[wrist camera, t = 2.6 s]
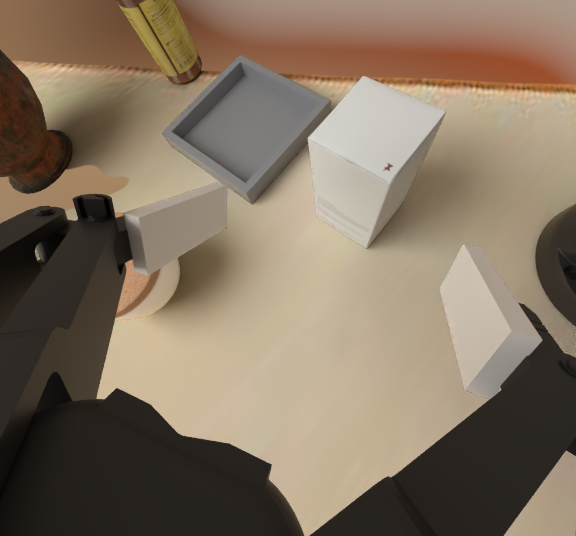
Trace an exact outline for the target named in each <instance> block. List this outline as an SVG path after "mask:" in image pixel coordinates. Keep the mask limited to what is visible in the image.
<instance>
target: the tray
mask: <svg viewBox="0 0 576 536" xmlns="http://www.w3.org/2000/svg"><path fill="white" fill-rule="evenodd" d="M330 113H331V100H329V99H327V98H325V97H323V96H321V95H319V94H317V93H315V92H313V91H311V90H309V89H307V88H305V87H303V86H301V85H299V84H297V83H295V82H293V81H291V80H289V79H287V78H285V77H283V76H281V75H279V74H277V73H275V72H273V71H271V70H269V69H267V68H266V67H263V66H262V65H259V64H258V63H256V62H253V61H252V60H249V59H247V58H246V57H244V56H242V55H239V56H238V57H237V58H236V59H235V60H234V61H233V62H232V63H231V64H230V65H229V66H228V67H227V68H226V69H225V70H224V71H223V72H222V73H221V74H220V75H219V76H218V77H217V78H216V79H215V80H214V81H213V82H212V83H211V84H210V85H209V86H208V87H207V88H206V89H205V90H204V91H203V92H202V93H201V94H200V95H199V96H198V97H197V98H196V99H195V100H194V101H193V102H192V103H191V104H190V105H189V106H188V107H187V108H186V109H185V110H184V111H183V112H182V113H181V114H180V115H179V116H178V117H177V118H176V119H175V120H174V121H173V122H172V123H171V124H170V125H169V126H168V127H167V128H166V129H165V130H164V131H163V132H162V135H163V136H164V137H165V139H166V140H167V141H168V142H169V144H170V145H171V146H172V147H173V148H174V149H176V150H177V151H179V152H180V153H181V154H183V155H184V156H186V157H187V158H188V159H190V160H191V161H193V162H194V163H195V164H197V165H198V166H199V167H201V168H202V169H204V170H205V171H206V172H208V173H209V174H211V175H212V176H213V177H215V178H216V179H217V180H219V181H220V182H222V183H223V184H224V185H227V187H229V188H230V189H231V190H233V191H234V192H236V193H237V194H238V195H240V196H241V197H242V198H244V199H245V200H247V201H248V202H249V203H251V204H253V203H254V202H255V201H256V199H257V198H258V197H259V196H260V195H261V194H262V193H263V192H264V191H265V189H266V188H267V187H268V186H269V185H270V184H271V183H272V182H273V180H274V179H275V178H276V177H277V176H278V175H279V174H280V173H281V171H282V170H283V169H284V168H285V167H286V166H287V165H288V164H289V163H290V161H291V160H292V159H293V158H294V157H295V156H296V155H297V154H298V152H299V151H300V150H301V149H302V148H303V147H304V146H305V145H306V144H307V142H308V137H309V136H310V135H311V134H312V133H313V131H314V130H315V129H316V128H317V127H318V126H319V125H320V124H321V123H322V122H323V121H324V120H325V118H326V117H327V116H328V115H329V114H330Z"/></svg>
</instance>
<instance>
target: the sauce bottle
mask: <svg viewBox="0 0 576 536" xmlns="http://www.w3.org/2000/svg"><path fill="white" fill-rule="evenodd" d="M117 3H118V4H119V6H120V7H121V9H122V10H123V12H124V13H125V15H126V17H127V18H128V20H129V21H130V23H131V24H132V26H133V27H134V29H135V30H136V32H137V33H138V35H139V37H140V38H141V40H142V41H143V43H144V44H145V46H146V47H147V49H148V50H149V52H150V53H151V55H152V57H153V58H154V60H155V61H156V63H157V64H158V66H159V67H160V69H161V71H162V72H163V73H164V74H165V75H166V76H167V78H168V79H169V80H170V81H171V82H172V83H176V84H184V83H187V82H190V81H191V80H193V79H195V78H196V77H197V75H198V74H199V73H200V71H201V67H202V62H201V59H200V57H199V55H198V52H197V49H196V47H195V45H194V43H193V41H192V38H191V36H190V34H189V32H188V30H187V28H186V26H185V24H184V22H183V20H182V18H181V16H180V14H179V12H178V10H177V8H176V6H175V4H174V2H173V0H117Z"/></svg>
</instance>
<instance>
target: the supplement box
mask: <svg viewBox="0 0 576 536" xmlns="http://www.w3.org/2000/svg"><path fill="white" fill-rule="evenodd" d="M445 114H446V111H445V110H442V109H440V108H438V107H435V106H433V105H430V104H428V103H425V102H423V101H421V100H418V99H416V98H414V97H412V96H409V95H407V94H405V93H402V92H400V91H398V90H395V89H393V88H391V87H388V86H386V85H384V84H381V83H379V82H377V81H375V80H372V79H370V78H368V77H366V76H363V77H362V78H361V79H360V80H359V81H358V82H357V84H356V85H355V86H354V87H353V88H352V89H351V90H350V92H349V93H348V94H347V95H346V96H345V97H344V98H343V100H342V101H341V102H340V103H339V104H338V105H337V106H336V108H335V109H334V110H333V111H332V112H331V113H330V114H329V115H328V116H327V117H326V118H325V120H324V121H323V122H322V123H321V124H320V125H319V126H318V127H317V128H316V129H315V130H314V131H313V133H312V134H311V135H310V136H309V137H308V145H309V153H310V161H311V170H312V179H313V188H314V197H315V205H316V214H317V217H318V218H320V219H321V220H323V221H324V222H326V223H327V224H329V225H330V226H332V227H333V228H335V229H336V230H338V231H339V232H341V233H343V234H344V235H346V236H347V237H349V238H350V239H352V240H353V241H355V242H356V243H358V244H359V245H361V246H363V247H364V248H366V249H367V248H368V246H369V245H370V244H371V242H372V241H373V240H374V239H375V237H376V236H377V235H378V234H379V232H380V231H381V230H382V229H383V227H384V226H385V225H386V224H387V222H388V221H389V220H390V219H391V217H392V216H393V215H394V213H395V212H396V211H397V210H398V208H399V207H400V206H401V204H402V203H403V201H404V199H405V197H406V195H407V192H408V190H409V188H410V186H411V184H412V182H413V180H414V178H415V176H416V174H417V172H418V170H419V168H420V166H421V164H422V162H423V160H424V158H425V156H426V154H427V152H428V149H429V147H430V145H431V143H432V141H433V139H434V137H435V135H436V133H437V131H438V129H439V127H440V124H441V122H442V120H443V118H444V116H445Z"/></svg>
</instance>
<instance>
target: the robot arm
mask: <svg viewBox="0 0 576 536" xmlns="http://www.w3.org/2000/svg"><path fill="white" fill-rule="evenodd" d="M73 202H74V205H75V209H76V212H77V216H78V220H77V221H73V220H67V217H66V213H65V210H64V209H62V208H58V207H50V206H40V207H37V208H34V209H30V210H27V211H25V212H23V213H21V214H19V215H17V216H15V217H13V218H11V219H9V220H7V221H5V222H2V223H1V224H0V536H304V534H303V531H302V528H301V526H300V524H299V521H298V519H297V517H296V515H295V513H294V511H293V509H292V508H291V506H290V505H289V503H288V501H287V500H286V498H285V497H284V496H283V495H282V493H281V492H280V491H279V489H278V488H277V487H276V486H275V485H274V484H273V483H272V482H271V481H270V480H269V475H270V471H271V466H272V465H271V464H269V463H267V462H265V461H263V460H261V459H259V458H257V457H255V456H253V455H251V454H249V453H247V452H245V451H243V450H241V449H239V448H237V447H235V446H233V445H231V444H228V443H222V442H216V441H210V440H204V439H198V438H192V437H186V436H182V435H180V434H178V433H177V432H176V431H175V430H174V429H173V428H172V427H171V426H170V425H169V424H168V422H167V421H166V420H165V419H164V418H163V417H162V416H161V415H160V414H159V413H158V412H157V411H156V410H155V409H154V408H153V407H152V406H151V405H150V404H148V403H146V402H144V401H142V400H140V399H138V398H136V397H134V396H132V395H130V394H128V393H126V392H124V391H122V390H120V389H118V388H116V389H115V390H114V391H113V392H112V393H111V394H110V395H109V396H108V397H107V398H106V399H96V398H97V392H98V388H99V384H100V380H101V375H102V371H103V367H104V363H105V359H106V355H107V350H108V346H109V342H110V338H111V334H112V330H113V326H114V321H115V317H116V313H117V309H118V305H119V301H120V296H121V292H122V288H123V284H124V280H125V276H126V271H127V269H126V264H125V263H126V262H128V261H130V260H132V261H133V266H134V271H136V272H139V273H142V274H145V275H147V276H149V275H150V274H152V273H154V272H155V271H157V270H158V269H160V268H162V267H163V266H165V265H167V264H168V263H170V262H172V261H173V260H175V259H176V258H178V257H180V256H181V255H183V254H185V253H186V252H188V251H190V250H191V249H193V248H194V247H196V246H198V245H199V244H201V243H203V242H204V241H206V240H208V239H209V238H211V237H212V236H214V235H216V234H217V233H219V232H221V231H222V230H224V229H226V228H227V185H224V184H220V183H214V184H211V185H208V186H205V187H201V188H198V189H195V190H192V191H189V192H186V193H183V194H180V195H177V196H174V197H171V198H168V199H165V200H162V201H159V202H156V203H153V204H150V205H147V206H143V207H140V208H137V209H134V210H131V211H128V212H125V213H123V214H124V215H123V216H120V217H117V218H116V217H115V212H114V207H113V202H112V198H111V197H110V196H107V195H103V194H86V195H80V196H77V197H75V198H73ZM35 248H37V251H38V253H39V256H40V258H41V259H40V260H39V261H37V258H36V256H35ZM536 268H537V273H538V276H539V279H540V282H541V284H542V287H543V289H544V291H545V292H546V294H547V296H548V297H549V299H550V300H551V302H552V303H553V304H554V306H555V307H556V308H557V309H558V310H559V311H560V312H561V313H562V314H563V316H565V317H566V318H567V319H568V320H569V321H570V322H571V323H572V324H574V325H575V326H576V204H575V205H573V206H571V207H569V208H568V209H566V210H564V211H562V212H561V213H559V214H558V215H557V216H555V217H554V218H553V219H552V220H551V221H550V222H549V223H548V224H547V225H546V227H545V228H544V230H543V231H542V233H541V235H540V237H539V240H538V243H537V248H536ZM440 293H441V297H442V301H443V305H444V309H445V312H446V316H447V320H448V324H449V328H450V332H451V336H452V340H453V344H454V348H455V352H456V356H457V360H458V364H459V368H460V372H461V376H462V380H463V384H464V388H465V390H466V391H469V392H471V393H474V394H477V395H480V396H482V397H485V398H488V399H490V400H489V401H487V402H486V403H485V404H484V405H482V406H481V407H480V408H479V409H477V410H476V411H475V412H474V413H472V414H471V415H470V416H469V417H467V418H466V419H465V420H464V421H462V422H461V423H460V424H459V425H457V426H456V427H455V428H454V429H452V430H451V431H450V432H449V433H447V434H446V435H445V436H444V437H442V438H441V439H440V440H438V441H437V442H436V443H435V444H433V445H432V446H431V447H430V448H428V449H427V450H426V451H425V452H423V453H422V454H421V455H420V456H418V457H417V458H416V459H415V460H413V461H412V462H411V463H410V464H408V465H407V466H406V467H405V468H403V469H402V470H401V471H400V472H398V473H397V474H396V475H394V476H393V477H391V478H390V477H389V476H388V477H386V478H384V479H382V480H381V481H379V482H378V483H377V484H375V485H374V486H373V487H371V488H370V489H369V490H368V491H366V492H365V493H364V494H362V495H361V496H360V497H359V498H357V499H356V500H355V501H353V502H352V503H351V504H350V505H348V506H347V507H346V508H345V509H343V510H342V511H341V512H339V513H338V514H337V515H336V516H334V517H333V518H332V519H330V520H329V521H328V522H327V523H325V524H324V525H323V526H321V527H320V528H319V529H318V530H316V531H315V532H314V533H313V534H311V535H310V536H504V534H505V533H506V531H507V530H508V529H509V527H510V526H511V525H512V523H513V522H514V521H515V519H516V518H517V516H518V515H519V514H520V512H521V511H522V510H523V508H524V507H525V506H526V504H527V503H528V501H529V500H530V499H531V497H532V496H533V495H534V493H535V492H536V491H537V489H538V488H539V486H540V485H541V484H542V482H543V481H544V480H545V478H546V477H547V476H548V474H549V473H550V471H551V470H552V469H553V467H554V466H555V465H556V463H557V462H558V460H559V459H560V458H561V456H562V455H563V454H564V452H565V451H566V450H567V451H568V452H570V453H572V454H573V455H575V456H576V358H575V357H573V356H571V355H568V354H565V353H563V351H562V350H561V348H560V347H559V346H558V344H557V343H556V342H555V340H554V339H553V337H552V336H551V335H550V333H548V330H547V329H546V328H545V326H544V325H542V322H541V321H540V319H539V318H538V317H537V315H536V314H535V313H534V312H532V311H531V310H530V309H529V308H528V307H526V306H525V305H524V304H520V303H518V302H517V301H516V299H515V298H514V296H513V295H512V293H511V292H510V290H509V289H508V287H507V286H506V284H505V283H504V281H503V280H502V278H501V277H500V275H499V274H498V272H497V271H496V270H495V268H494V267H493V265H492V264H491V262H490V261H489V259H488V258H487V256H486V255H485V253H484V252H483V250H482V249H481V247H477V246H473V245H468V244H463V245H462V247H461V249H460V251H459V253H458V255H457V257H456V259H455V261H454V262H453V264H452V266H451V268H450V270H449V272H448V274H447V276H446V278H445V279H444V281H443V283H442V285H441V287H440ZM500 388H501V391H500V392H499V393H497V394H496V395H495V393H496V392H497V391H498V390H499V389H500ZM494 395H495V396H494ZM493 396H494V397H493Z"/></svg>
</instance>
